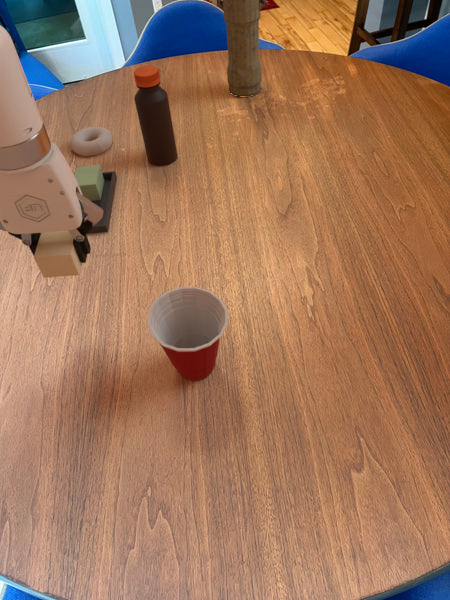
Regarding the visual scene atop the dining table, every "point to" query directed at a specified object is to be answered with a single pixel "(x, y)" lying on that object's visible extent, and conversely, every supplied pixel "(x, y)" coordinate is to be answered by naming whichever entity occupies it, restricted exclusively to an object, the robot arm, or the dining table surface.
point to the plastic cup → (189, 329)
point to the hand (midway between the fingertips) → (64, 256)
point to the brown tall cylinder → (243, 45)
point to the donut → (91, 141)
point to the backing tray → (104, 203)
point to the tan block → (57, 255)
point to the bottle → (154, 117)
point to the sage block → (90, 181)
